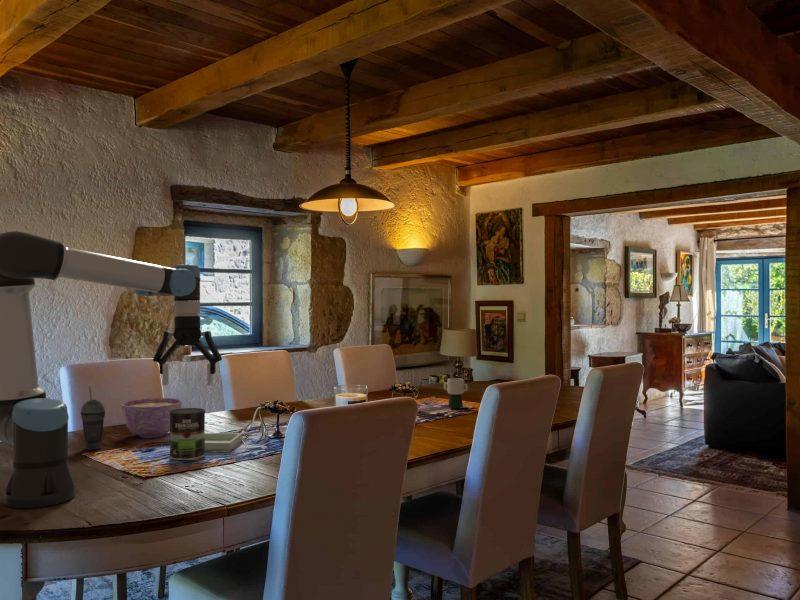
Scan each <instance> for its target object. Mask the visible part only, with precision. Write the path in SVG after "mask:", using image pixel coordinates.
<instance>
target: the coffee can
mask: <svg viewBox="0 0 800 600" xmlns="http://www.w3.org/2000/svg"><path fill="white" fill-rule="evenodd" d="M205 413H206V409H204V408H201V407H200V408H199V407H183V408H180V409H175V410H171V411H170V431H169V435H170V436H169V459H170V458H171V459H170V460H172V459H174V460H173V461H177V460H188V461H194V460H195V459H196V460H199V458H200V459H202V457H203V458H204V457H205V456H206V455H205V454H206V452H205V433H206V432H205V431H206V430H205V426H206V425H205V424H206V423H205V422H206V418H205V417H206V415H205Z"/></svg>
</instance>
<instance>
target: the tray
mask: <svg viewBox="0 0 800 600" xmlns="http://www.w3.org/2000/svg"><path fill="white" fill-rule="evenodd" d="M242 442H243V433H241V432H240V433H239V432H238V433H236V432H235V433H234V432H233V433H232V432H231V433H230V432H227V433H226V432H207V433H206V432H205V453H214V452H213V451H229V452H228V453H231V452H232V451H233V450H234V449H235V448H236V447H237V445H238V444H239V443H240V444H241V443H242ZM240 444H239V445H240ZM239 445H238V446H239ZM232 449H233V450H232ZM231 450H232V451H231ZM230 451H231V452H230Z"/></svg>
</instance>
